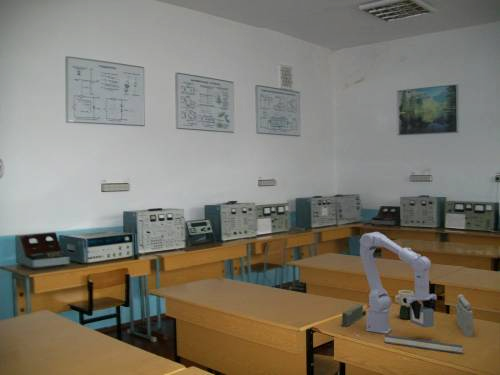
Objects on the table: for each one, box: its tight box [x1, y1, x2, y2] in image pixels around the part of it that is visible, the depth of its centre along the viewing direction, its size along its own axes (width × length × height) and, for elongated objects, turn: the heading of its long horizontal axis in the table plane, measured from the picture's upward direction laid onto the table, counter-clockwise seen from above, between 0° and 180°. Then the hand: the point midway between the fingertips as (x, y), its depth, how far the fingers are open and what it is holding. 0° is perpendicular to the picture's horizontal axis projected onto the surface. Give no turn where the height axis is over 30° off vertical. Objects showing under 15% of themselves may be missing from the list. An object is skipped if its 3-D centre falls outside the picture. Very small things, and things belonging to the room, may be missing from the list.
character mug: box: [394, 289, 415, 320], centre depth 253 cm, size 11×7×13 cm, turn 98°
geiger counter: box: [454, 294, 475, 338], centre depth 236 cm, size 14×6×25 cm
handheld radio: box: [341, 303, 367, 328], centre depth 251 cm, size 7×3×25 cm
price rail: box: [384, 334, 464, 355], centre depth 211 cm, size 30×2×3 cm, turn 61°
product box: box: [409, 305, 435, 329], centre depth 220 cm, size 5×9×7 cm, turn 23°
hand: (421, 317), depth 220 cm, fingers closed on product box, 4 cm apart
